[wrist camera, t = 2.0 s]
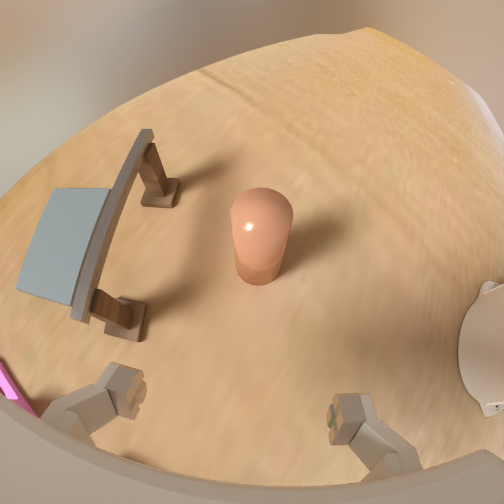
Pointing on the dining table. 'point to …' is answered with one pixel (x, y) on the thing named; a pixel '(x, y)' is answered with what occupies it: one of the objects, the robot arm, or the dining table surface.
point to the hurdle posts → (123, 311)
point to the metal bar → (108, 229)
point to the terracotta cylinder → (260, 233)
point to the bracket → (13, 391)
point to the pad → (62, 244)
